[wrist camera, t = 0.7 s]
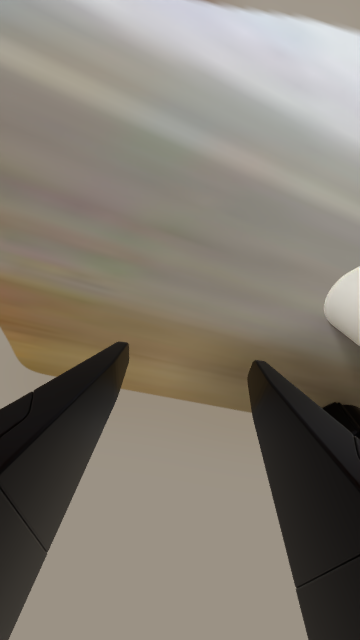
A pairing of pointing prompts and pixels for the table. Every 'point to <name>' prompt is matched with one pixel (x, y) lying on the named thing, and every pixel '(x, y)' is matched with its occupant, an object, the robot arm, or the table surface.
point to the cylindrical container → (345, 305)
